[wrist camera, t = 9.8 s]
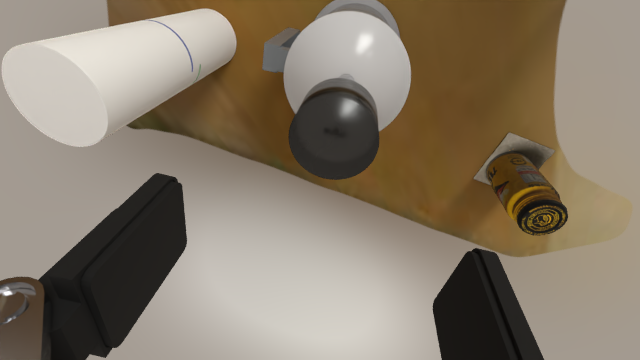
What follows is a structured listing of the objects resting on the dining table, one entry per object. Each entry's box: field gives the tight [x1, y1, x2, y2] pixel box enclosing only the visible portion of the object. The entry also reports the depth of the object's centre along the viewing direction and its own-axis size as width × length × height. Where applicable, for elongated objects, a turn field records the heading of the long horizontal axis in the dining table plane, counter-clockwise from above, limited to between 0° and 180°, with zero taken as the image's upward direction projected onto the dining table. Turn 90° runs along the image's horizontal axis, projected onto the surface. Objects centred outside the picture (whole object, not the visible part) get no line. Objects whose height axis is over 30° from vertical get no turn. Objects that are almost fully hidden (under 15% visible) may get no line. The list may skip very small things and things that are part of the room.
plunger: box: [289, 74, 379, 180], centre depth 22 cm, size 5×5×11 cm
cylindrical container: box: [2, 9, 236, 147], centre depth 31 cm, size 7×7×25 cm
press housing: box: [262, 0, 411, 131], centre depth 33 cm, size 14×12×16 cm
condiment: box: [474, 133, 568, 235], centre depth 41 cm, size 7×8×12 cm
